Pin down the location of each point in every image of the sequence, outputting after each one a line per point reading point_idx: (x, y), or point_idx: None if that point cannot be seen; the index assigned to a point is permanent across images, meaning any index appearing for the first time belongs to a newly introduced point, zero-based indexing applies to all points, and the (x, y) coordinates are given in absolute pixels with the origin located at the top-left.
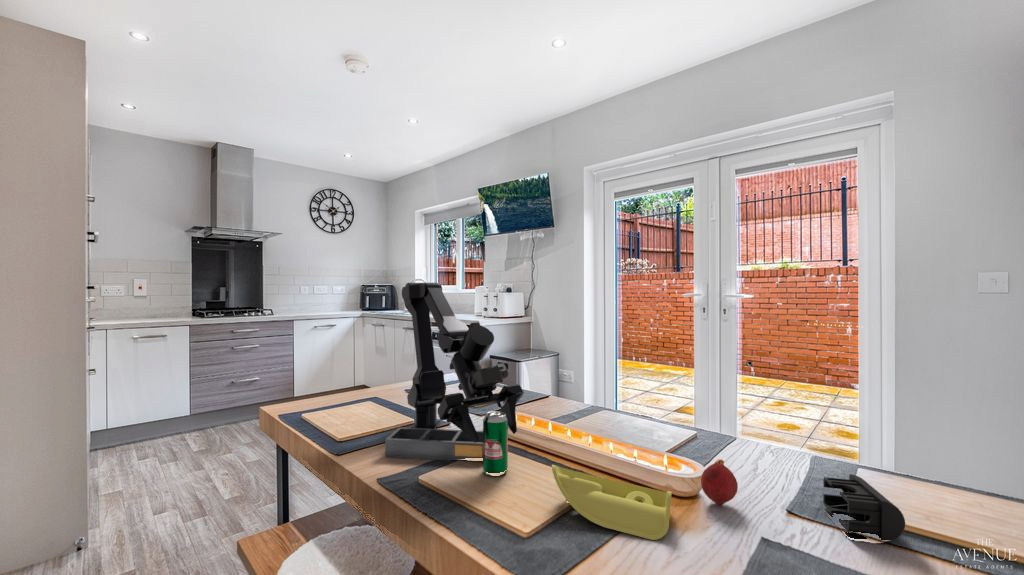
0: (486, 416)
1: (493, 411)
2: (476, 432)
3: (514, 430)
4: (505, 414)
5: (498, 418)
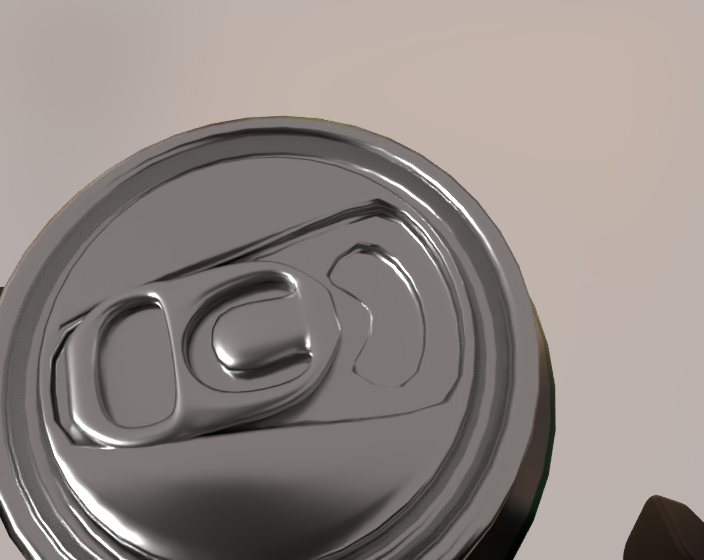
0: (530, 428)
1: (41, 557)
2: (691, 556)
3: None
4: (144, 153)
5: (406, 163)
